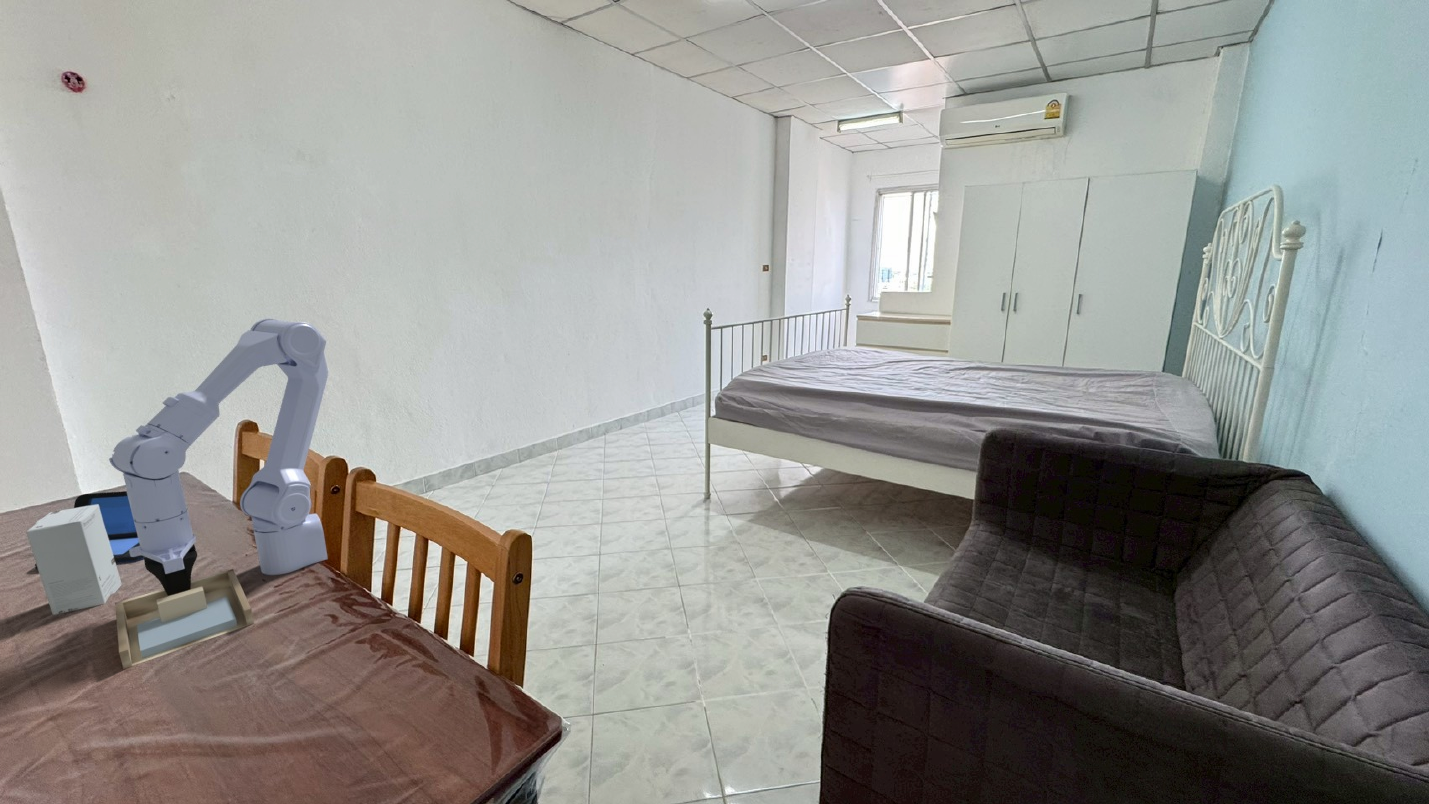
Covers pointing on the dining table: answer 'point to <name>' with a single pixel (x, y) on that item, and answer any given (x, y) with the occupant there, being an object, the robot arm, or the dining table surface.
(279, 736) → the dining table surface
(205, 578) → the birch box
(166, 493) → the robot arm
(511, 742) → the dining table surface
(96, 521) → the skincare box
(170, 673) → the dining table surface
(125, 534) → the handheld game console
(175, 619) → the cover plate
